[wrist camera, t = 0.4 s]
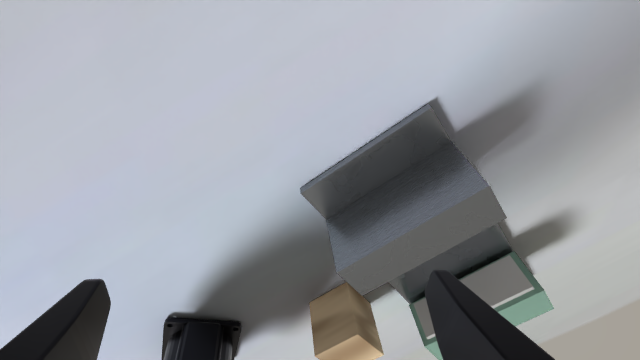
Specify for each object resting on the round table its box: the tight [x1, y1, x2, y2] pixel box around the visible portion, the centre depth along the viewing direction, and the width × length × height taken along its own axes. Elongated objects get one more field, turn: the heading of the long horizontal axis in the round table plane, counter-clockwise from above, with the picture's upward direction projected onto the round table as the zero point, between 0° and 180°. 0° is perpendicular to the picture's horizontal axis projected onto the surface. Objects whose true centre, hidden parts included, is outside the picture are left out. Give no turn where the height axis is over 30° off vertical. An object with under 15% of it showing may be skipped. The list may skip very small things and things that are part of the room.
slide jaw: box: [409, 251, 554, 360], centre depth 30 cm, size 3×10×4 cm, turn 126°
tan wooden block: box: [309, 282, 384, 360], centre depth 31 cm, size 4×4×5 cm
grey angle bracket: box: [300, 104, 513, 304], centre depth 27 cm, size 22×10×6 cm, turn 36°
